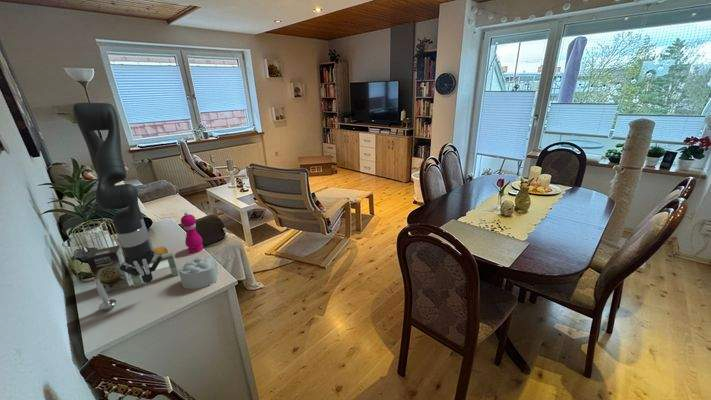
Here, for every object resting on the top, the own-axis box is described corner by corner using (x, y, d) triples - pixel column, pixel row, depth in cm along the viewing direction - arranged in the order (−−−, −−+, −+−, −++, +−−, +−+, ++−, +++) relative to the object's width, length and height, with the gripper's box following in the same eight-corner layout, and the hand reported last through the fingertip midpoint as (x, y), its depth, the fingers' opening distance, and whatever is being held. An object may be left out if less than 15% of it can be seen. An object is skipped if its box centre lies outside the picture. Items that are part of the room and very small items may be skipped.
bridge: (136, 283, 115) (128, 263, 112) (178, 271, 122) (172, 252, 118) (135, 287, 113) (127, 267, 109) (178, 275, 119) (172, 255, 116)
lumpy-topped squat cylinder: (216, 284, 113) (212, 266, 110) (180, 292, 109) (174, 273, 106) (219, 270, 122) (215, 252, 119) (185, 276, 118) (180, 259, 115)
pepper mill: (207, 248, 139) (197, 210, 132) (193, 255, 134) (182, 216, 126) (199, 244, 143) (189, 208, 136) (184, 251, 137) (173, 213, 130)
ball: (151, 246, 131) (149, 253, 126) (166, 242, 133) (165, 249, 128) (155, 256, 133) (153, 263, 129) (170, 252, 136) (169, 260, 131)
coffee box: (100, 294, 110) (84, 258, 104) (105, 284, 115) (90, 250, 109) (129, 286, 113) (115, 251, 108) (132, 277, 119) (119, 244, 113)
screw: (120, 302, 105) (113, 312, 100) (105, 305, 104) (97, 314, 99) (108, 273, 100) (99, 282, 95) (92, 275, 99) (83, 284, 95)
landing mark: (145, 260, 131) (145, 260, 131) (175, 252, 136) (175, 252, 136) (142, 274, 121) (142, 273, 121) (174, 265, 126) (174, 264, 126)
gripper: (157, 231, 104) (170, 270, 110) (112, 241, 98) (128, 282, 104) (156, 240, 98) (169, 281, 104) (107, 251, 92) (125, 294, 98)
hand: (148, 281), depth 104 cm, fingers closed
